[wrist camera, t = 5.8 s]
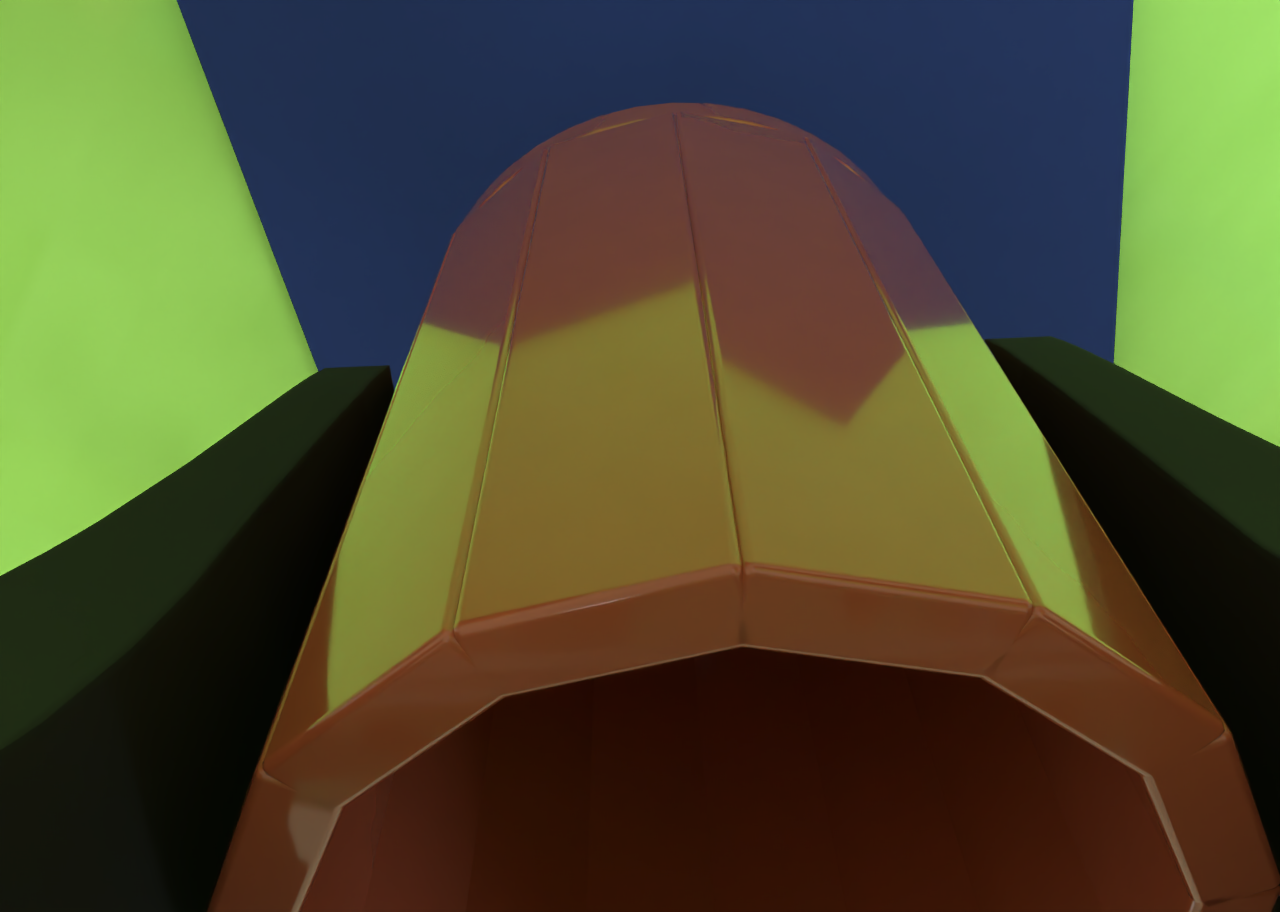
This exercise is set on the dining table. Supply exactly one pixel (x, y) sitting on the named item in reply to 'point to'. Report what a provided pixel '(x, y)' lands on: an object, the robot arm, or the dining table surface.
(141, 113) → the dining table surface
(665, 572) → the tumbler
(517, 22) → the cloth
